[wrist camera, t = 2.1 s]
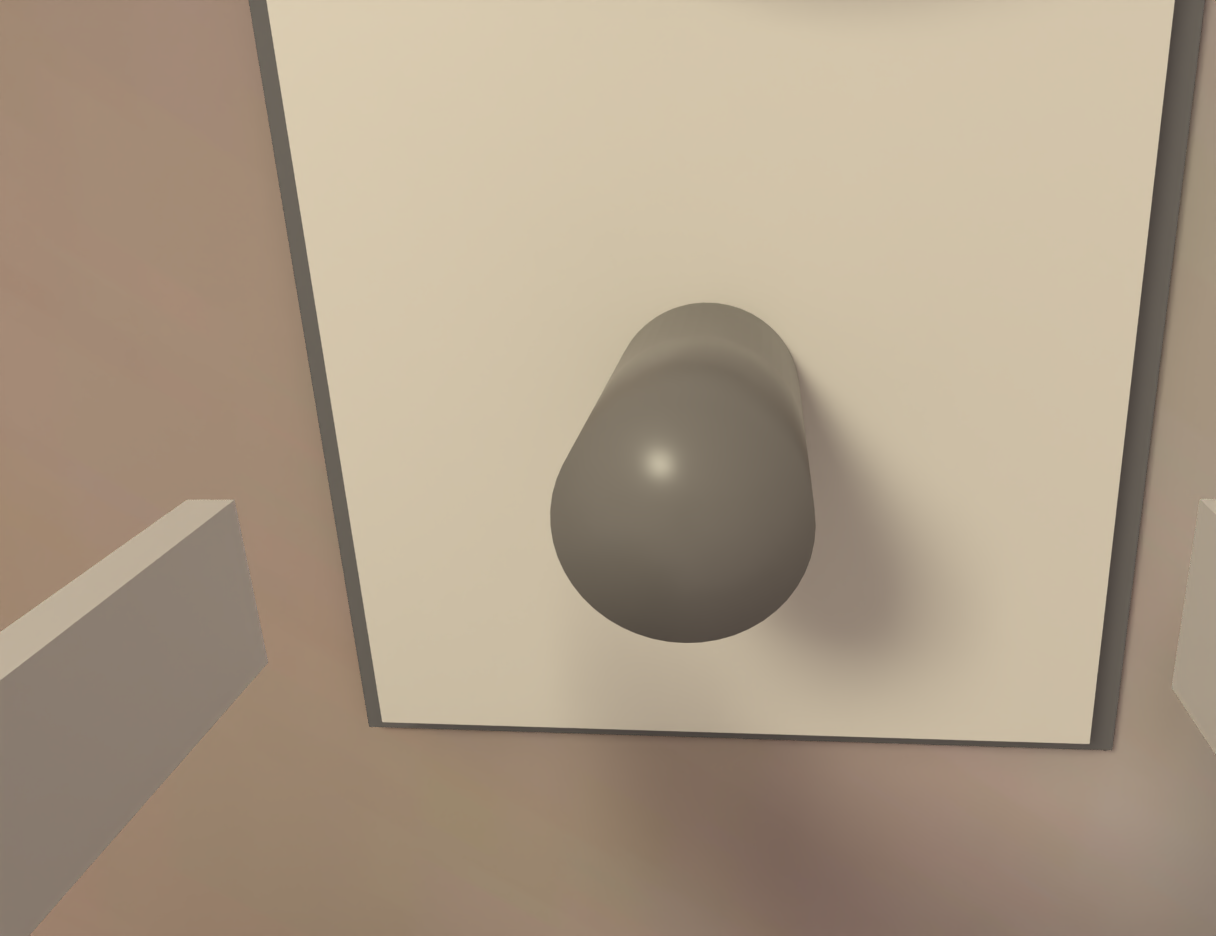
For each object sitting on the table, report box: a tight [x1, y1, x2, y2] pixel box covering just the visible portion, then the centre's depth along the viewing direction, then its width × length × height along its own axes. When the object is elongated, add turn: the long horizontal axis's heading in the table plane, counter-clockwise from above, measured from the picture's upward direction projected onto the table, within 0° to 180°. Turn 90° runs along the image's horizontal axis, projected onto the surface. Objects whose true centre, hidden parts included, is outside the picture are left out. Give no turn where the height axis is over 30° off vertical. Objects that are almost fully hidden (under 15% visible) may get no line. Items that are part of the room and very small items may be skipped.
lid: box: [266, 0, 1175, 744], centre depth 21 cm, size 19×19×9 cm
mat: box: [249, 0, 1205, 750], centre depth 26 cm, size 21×21×1 cm
